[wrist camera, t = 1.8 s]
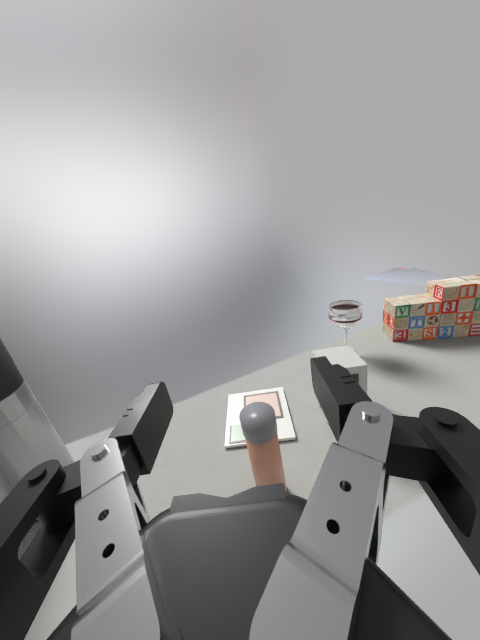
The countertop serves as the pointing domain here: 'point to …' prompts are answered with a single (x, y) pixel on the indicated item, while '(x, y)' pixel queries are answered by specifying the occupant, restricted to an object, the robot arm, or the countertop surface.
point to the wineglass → (345, 315)
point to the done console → (346, 363)
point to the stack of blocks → (435, 311)
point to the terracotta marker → (262, 443)
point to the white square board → (269, 396)
